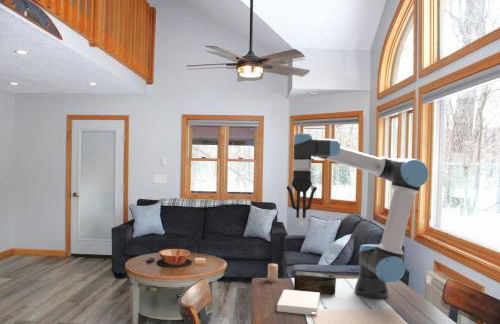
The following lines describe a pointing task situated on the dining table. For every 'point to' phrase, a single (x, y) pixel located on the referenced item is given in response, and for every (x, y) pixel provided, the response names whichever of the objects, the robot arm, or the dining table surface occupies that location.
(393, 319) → the dining table surface
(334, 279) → the beverage carton
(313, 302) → the white flat slab
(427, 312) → the dining table surface
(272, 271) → the peach rounded cylinder
